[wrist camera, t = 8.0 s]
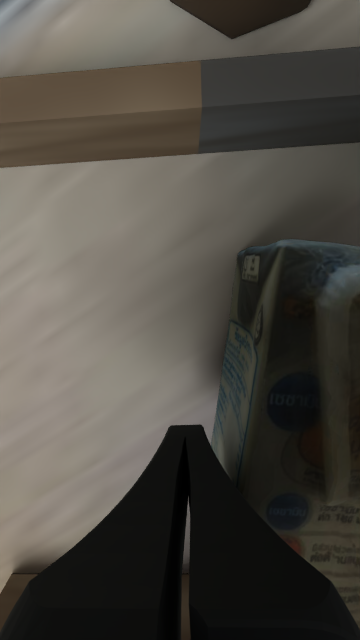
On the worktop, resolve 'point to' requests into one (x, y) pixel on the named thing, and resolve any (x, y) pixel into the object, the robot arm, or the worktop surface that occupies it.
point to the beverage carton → (297, 400)
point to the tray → (177, 127)
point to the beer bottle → (241, 13)
